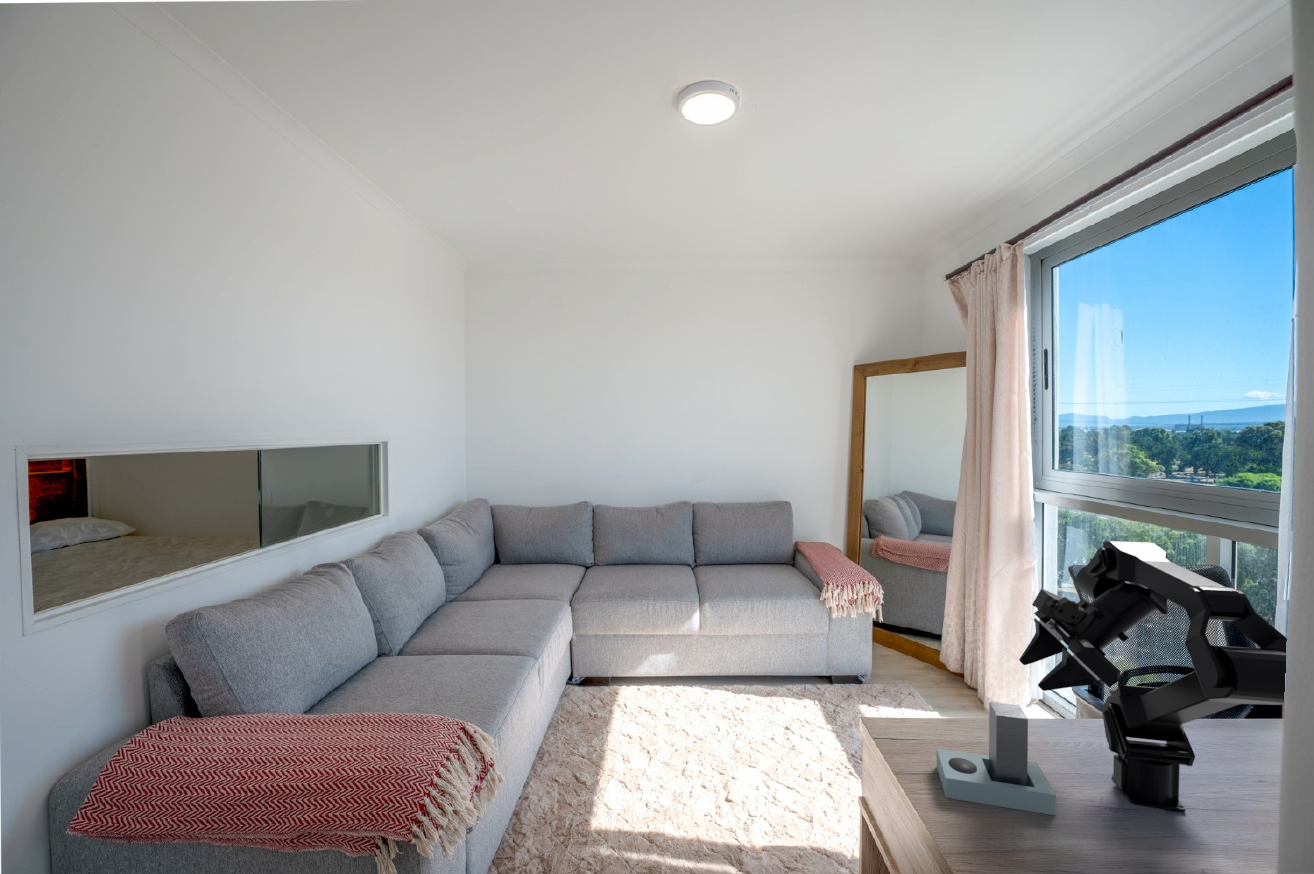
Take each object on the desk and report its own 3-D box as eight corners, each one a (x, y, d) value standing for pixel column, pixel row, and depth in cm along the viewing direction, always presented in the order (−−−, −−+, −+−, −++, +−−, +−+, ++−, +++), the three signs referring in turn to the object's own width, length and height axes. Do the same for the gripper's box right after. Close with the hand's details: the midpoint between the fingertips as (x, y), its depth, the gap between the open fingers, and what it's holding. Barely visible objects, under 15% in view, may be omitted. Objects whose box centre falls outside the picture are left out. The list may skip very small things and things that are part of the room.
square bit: (1018, 785, 87) (1019, 705, 86) (1027, 802, 83) (1027, 718, 82) (988, 780, 88) (989, 701, 87) (995, 797, 84) (996, 715, 83)
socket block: (1036, 781, 87) (1037, 761, 87) (1055, 815, 80) (1055, 794, 80) (936, 766, 92) (936, 747, 91) (945, 797, 84) (945, 777, 84)
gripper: (1048, 560, 100) (977, 617, 104) (1096, 594, 82) (1008, 661, 86) (1101, 608, 98) (1026, 664, 102) (1161, 653, 80) (1068, 719, 84)
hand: (1030, 674), depth 93 cm, fingers open, 9 cm apart
